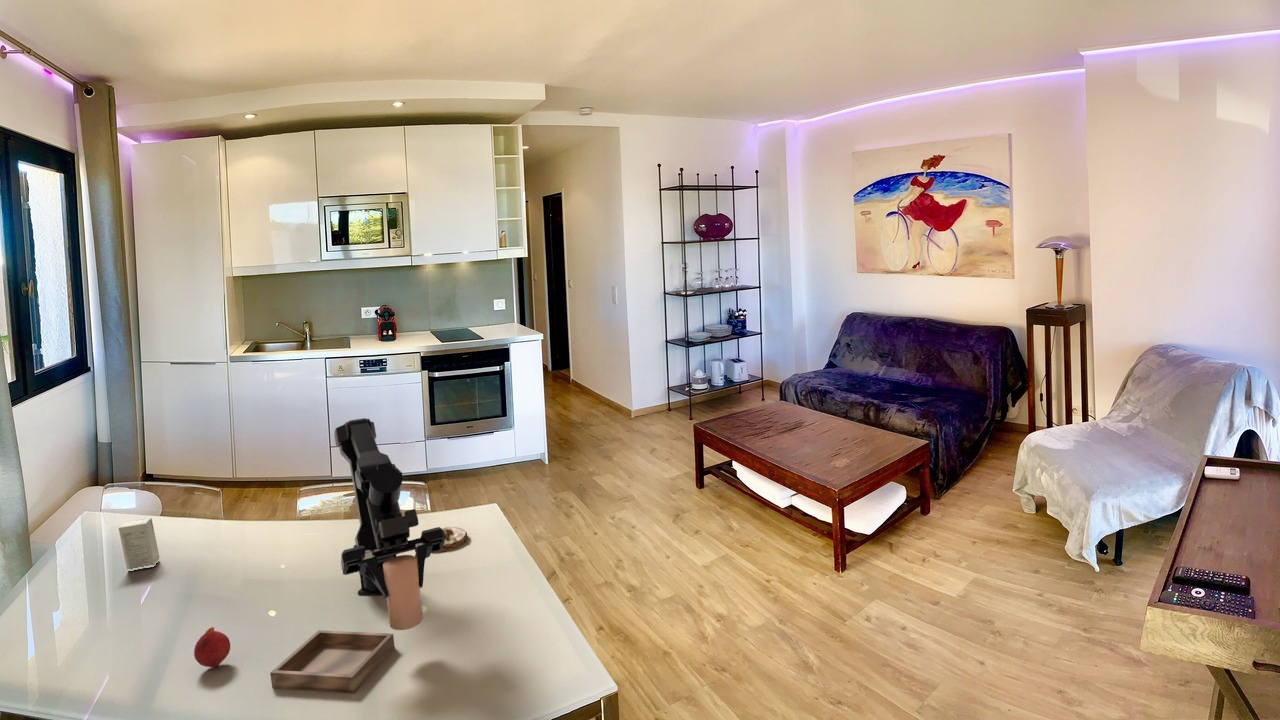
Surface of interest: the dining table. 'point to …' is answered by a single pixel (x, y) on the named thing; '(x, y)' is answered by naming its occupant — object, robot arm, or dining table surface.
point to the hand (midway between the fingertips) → (404, 591)
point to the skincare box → (139, 543)
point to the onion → (211, 648)
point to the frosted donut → (453, 538)
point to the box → (333, 661)
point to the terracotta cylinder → (403, 592)
